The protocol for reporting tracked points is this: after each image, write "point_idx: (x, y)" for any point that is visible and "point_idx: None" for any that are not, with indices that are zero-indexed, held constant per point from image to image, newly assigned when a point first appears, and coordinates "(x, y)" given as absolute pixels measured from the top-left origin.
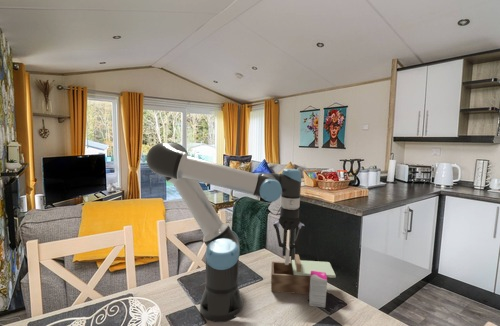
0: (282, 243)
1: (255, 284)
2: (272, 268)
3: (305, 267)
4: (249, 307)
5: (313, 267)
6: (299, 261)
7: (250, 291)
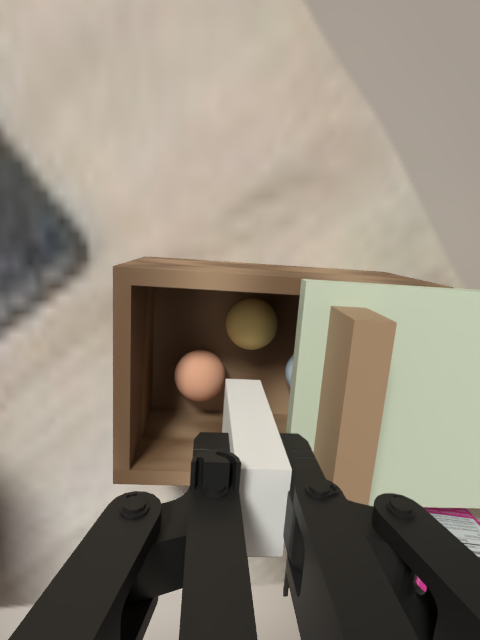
0: (175, 549)
1: (43, 326)
2: (118, 395)
3: (398, 417)
4: (32, 524)
5: (466, 411)
6: (363, 477)
7: (20, 399)
